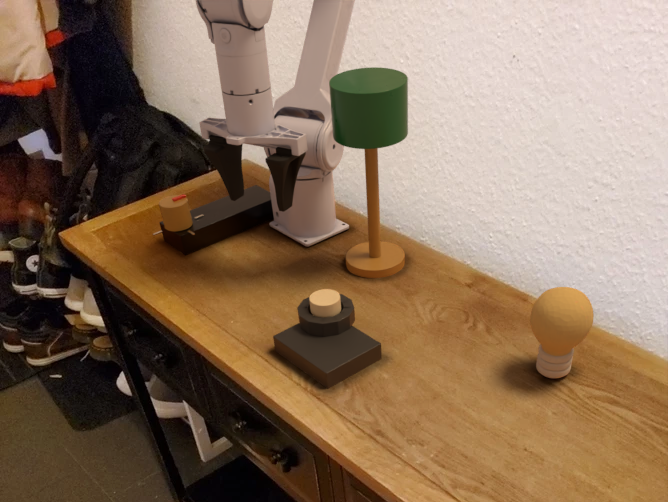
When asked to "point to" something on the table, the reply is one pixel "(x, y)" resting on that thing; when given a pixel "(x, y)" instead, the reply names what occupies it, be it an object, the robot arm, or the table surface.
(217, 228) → the dimmer
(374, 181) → the lamp
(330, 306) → the lamp switch
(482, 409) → the table surface
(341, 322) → the switch box
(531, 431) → the table surface
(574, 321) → the light bulb
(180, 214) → the dimmer knob
